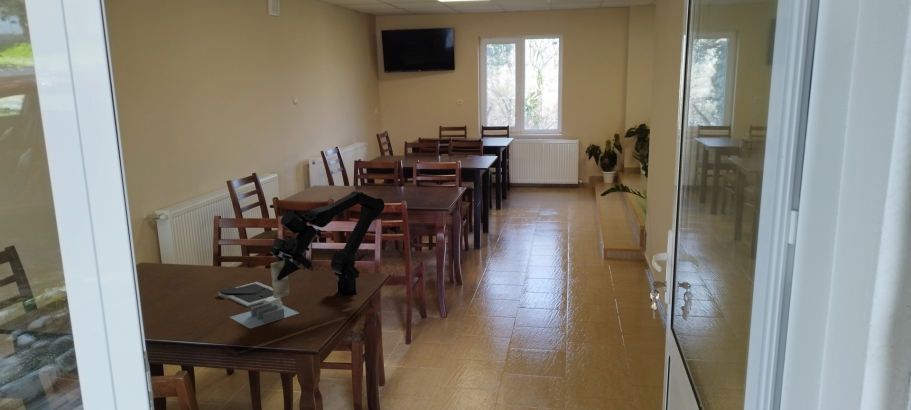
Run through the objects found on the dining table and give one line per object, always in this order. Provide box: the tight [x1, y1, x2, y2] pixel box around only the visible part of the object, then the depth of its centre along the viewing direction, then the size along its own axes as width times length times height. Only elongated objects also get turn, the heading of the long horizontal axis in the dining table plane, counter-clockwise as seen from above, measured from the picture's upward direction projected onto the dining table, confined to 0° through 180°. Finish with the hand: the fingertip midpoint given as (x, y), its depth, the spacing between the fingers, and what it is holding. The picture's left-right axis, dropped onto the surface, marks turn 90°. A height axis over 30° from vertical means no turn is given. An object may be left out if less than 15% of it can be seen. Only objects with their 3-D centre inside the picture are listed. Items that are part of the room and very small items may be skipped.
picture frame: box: [217, 281, 273, 308], centre depth 223 cm, size 16×3×21 cm
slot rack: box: [229, 302, 299, 329], centre depth 203 cm, size 18×14×4 cm
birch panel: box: [270, 260, 290, 299], centre depth 205 cm, size 5×2×12 cm, turn 136°
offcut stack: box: [262, 296, 284, 307], centre depth 210 cm, size 5×4×3 cm
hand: (276, 279), depth 204 cm, fingers closed on birch panel, 2 cm apart
